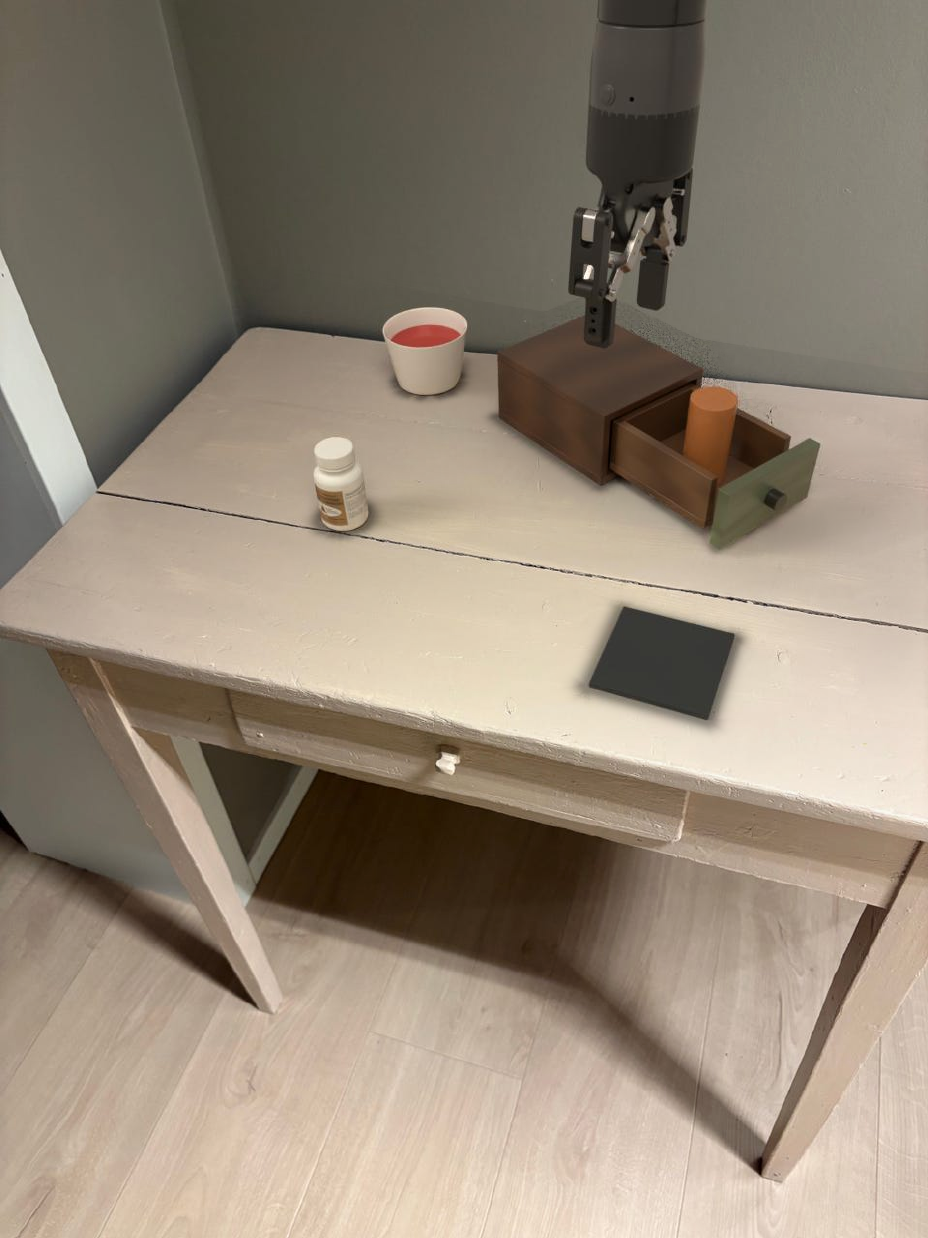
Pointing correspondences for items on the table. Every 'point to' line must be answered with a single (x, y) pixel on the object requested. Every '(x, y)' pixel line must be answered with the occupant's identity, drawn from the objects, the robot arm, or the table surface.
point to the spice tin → (710, 428)
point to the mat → (663, 662)
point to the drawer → (741, 502)
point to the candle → (426, 349)
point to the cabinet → (583, 390)
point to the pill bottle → (339, 485)
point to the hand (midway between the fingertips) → (625, 325)
